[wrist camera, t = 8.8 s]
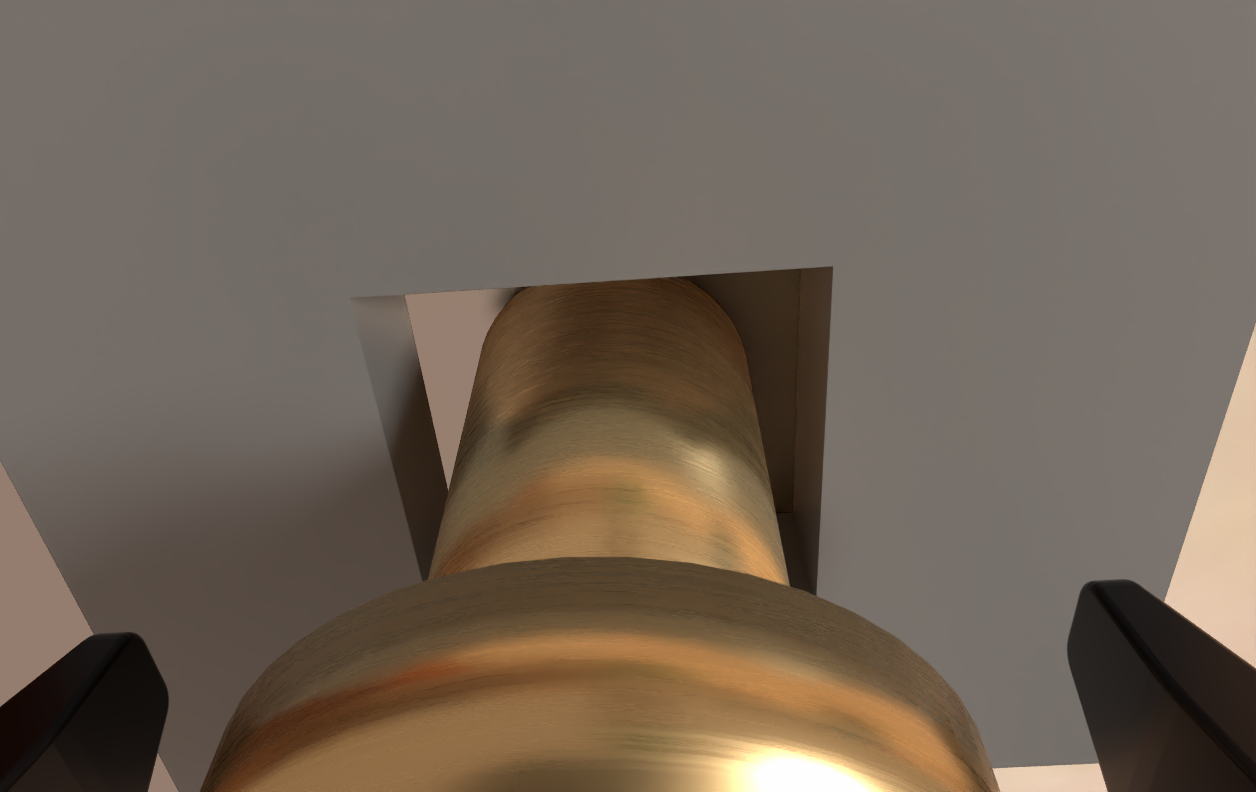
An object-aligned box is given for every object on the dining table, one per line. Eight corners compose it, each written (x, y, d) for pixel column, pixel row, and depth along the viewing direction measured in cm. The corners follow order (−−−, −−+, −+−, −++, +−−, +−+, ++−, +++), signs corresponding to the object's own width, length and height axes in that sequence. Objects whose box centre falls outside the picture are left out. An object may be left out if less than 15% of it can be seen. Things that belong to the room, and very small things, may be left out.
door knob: (827, 536, 15) (992, 1197, 8) (432, 557, 15) (276, 1215, 8) (851, 151, 11) (1170, 744, 5) (340, 185, 12) (-43, 794, 5)
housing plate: (1061, 657, 16) (1110, 762, 14) (230, 700, 17) (186, 806, 15) (1276, -180, 10) (1414, -164, 8) (-118, -68, 10) (-265, -30, 8)
